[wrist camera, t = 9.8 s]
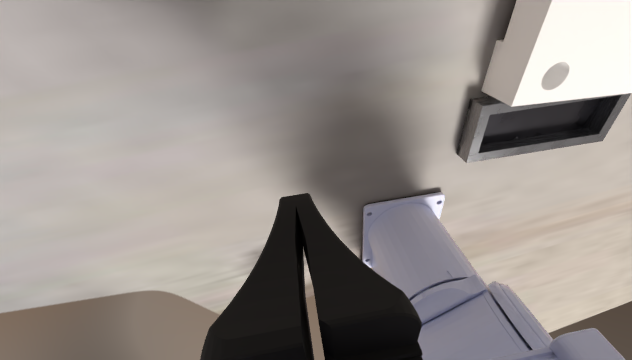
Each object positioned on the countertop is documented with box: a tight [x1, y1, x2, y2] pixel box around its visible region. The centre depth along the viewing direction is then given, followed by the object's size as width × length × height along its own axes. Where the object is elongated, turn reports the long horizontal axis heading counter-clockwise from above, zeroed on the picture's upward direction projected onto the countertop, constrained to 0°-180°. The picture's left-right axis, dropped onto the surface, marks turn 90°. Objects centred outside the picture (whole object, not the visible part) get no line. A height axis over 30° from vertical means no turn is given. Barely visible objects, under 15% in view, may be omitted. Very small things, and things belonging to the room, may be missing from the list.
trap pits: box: [457, 93, 631, 163], centre depth 18 cm, size 20×12×2 cm, turn 5°
